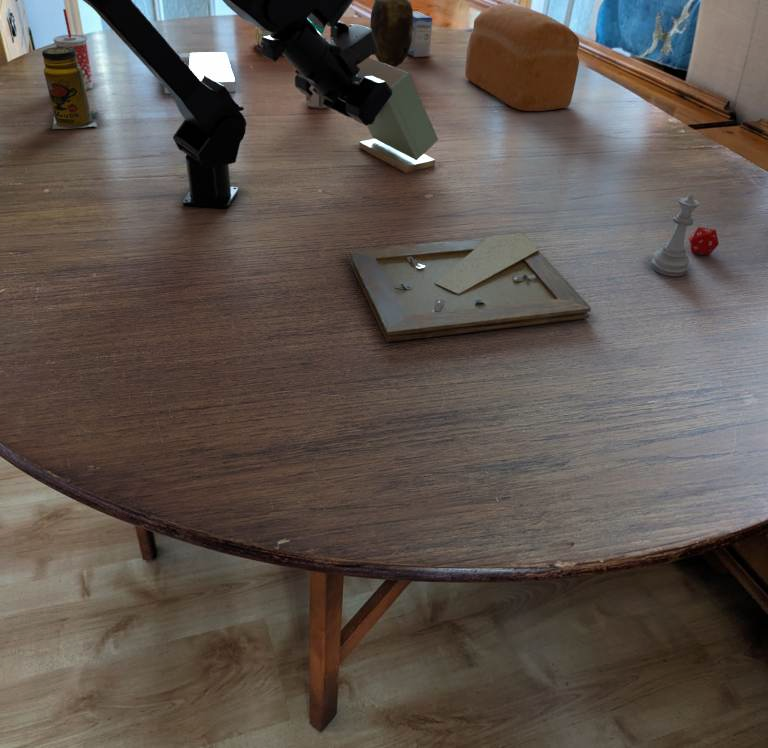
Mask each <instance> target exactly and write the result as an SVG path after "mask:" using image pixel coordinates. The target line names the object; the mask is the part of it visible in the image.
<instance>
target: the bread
mask: <svg viewBox="0 0 768 748" xmlns="http://www.w3.org/2000/svg"><path fill="white" fill-rule="evenodd" d="M579 45H580V39H579V37H578V36H577V34H576V33H575V32H574V31H573V30H572V29H571V28H570V27H568V26H567V25H565V24H564V23H562V22H560V21H558V20H556V19H555V18H552V17H551V16H549V15H547V14H544V13H542V12H539V11H536V10H534V9H531V8H528V7H524V6H522V5H517V4H513V3H501V4H494V5H491V6H490V7H487V8H486V9H483V10H481V11H480V13H479V14H478V15H477V16H476V17H475V18H474V20H473V27H472V30H471V32H470V35H469V39H468V42H467V47H466V54H465V55H466V56H465V69H464V76H465V78H466V79H468V80H469V81H470V82H471V83H473V84H475V85H476V86H478V87H480V89H482V90H484V91H486V92H487V93H489V94H490V95H492V96H494V97H495V98H497V99H498V100H500V101H501V102H502V103H504V104H506V105H508V106H509V107H511V108H512V109H513V108H514V109H516V110H519V111H525V112H545V111H553V110H559V109H566V108H569V106H570V105H571V103H572V100H573V95H574V90H575V85H576V81H577V76H578V71H579V66H580V59H579V55H578V51H579V48H580V46H579Z"/></svg>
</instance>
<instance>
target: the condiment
mask: <svg viewBox="0 0 768 748" xmlns="http://www.w3.org/2000/svg"><path fill="white" fill-rule="evenodd" d="M41 53H42V55H41V56H42V58H43V64H44V65H45V66H44V68H43V74H44V78H45V82H46V86H47V91H48V95H49V99H50V103H51V107H52V108H51V109H52V112H53V121H52V128H51V129H52V130H63V129H64V130H68V129H82V128H88V127H89V128H90V127H98V110H92V111H91V106H90V101H89V96H88V93H87V89H86V86H85V82H84V77H83V72H82V68H81V67H80V66H79V64H78V59H77V57H76V52H75V50H74V49H73V48H69V47H57V46H53V47H48V48H44V49H43V50H42V52H41Z"/></svg>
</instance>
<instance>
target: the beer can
mask: <svg viewBox="0 0 768 748" xmlns="http://www.w3.org/2000/svg"><path fill="white" fill-rule="evenodd" d="M324 39H325V40H326V41H327V42H328V43H330V41H329V38H327V37H324ZM313 88H314V87H313V86H312V85H311V87H310V88H309V89H310V90H311V92H312V93H313V96H312V97H309V96H307V95H305V104H306V105H307V106H308V107H310V108H312V109H316V110H317V109H318V110H319V109H321V110H322V109H326V108H328V107H327V106H325V105H324V104H323V101H324V100H325V98H323V97H321V96H319V95H317V94H316V93H315V92H314V91H313Z"/></svg>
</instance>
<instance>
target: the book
mask: <svg viewBox="0 0 768 748" xmlns="http://www.w3.org/2000/svg"><path fill="white" fill-rule="evenodd" d="M176 53H177V54H178V55H179V56H180V57H181V59H182V60H183V61H184V62H185V63H186V64H187V66H188V67H189V68H190V69H191V70H192V71H193V73H194V74H195V75H196V76H197V77H198V78H199V80H200V81H201V80H202V79H203V77H204V76H207V77H209V78H211V79H212V80H214V81H216V82H218V83H220V84H221V85H223V86H225V88H226V89H227V90H228V92H229V93H233V92H237V87H236V86H237V85H236V80H235V79H236V78H235V76H234V73H233V70H232V67H231V63H230V60H229V56H228V54H227V52H225V51H224V52H223V51H221V52H176ZM163 89H164V94H166V95H167V94H168V95H169V94H170V95H171V93H170V92H169V91H168V90H167V89H166V88H165V87H164V86H163Z"/></svg>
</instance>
